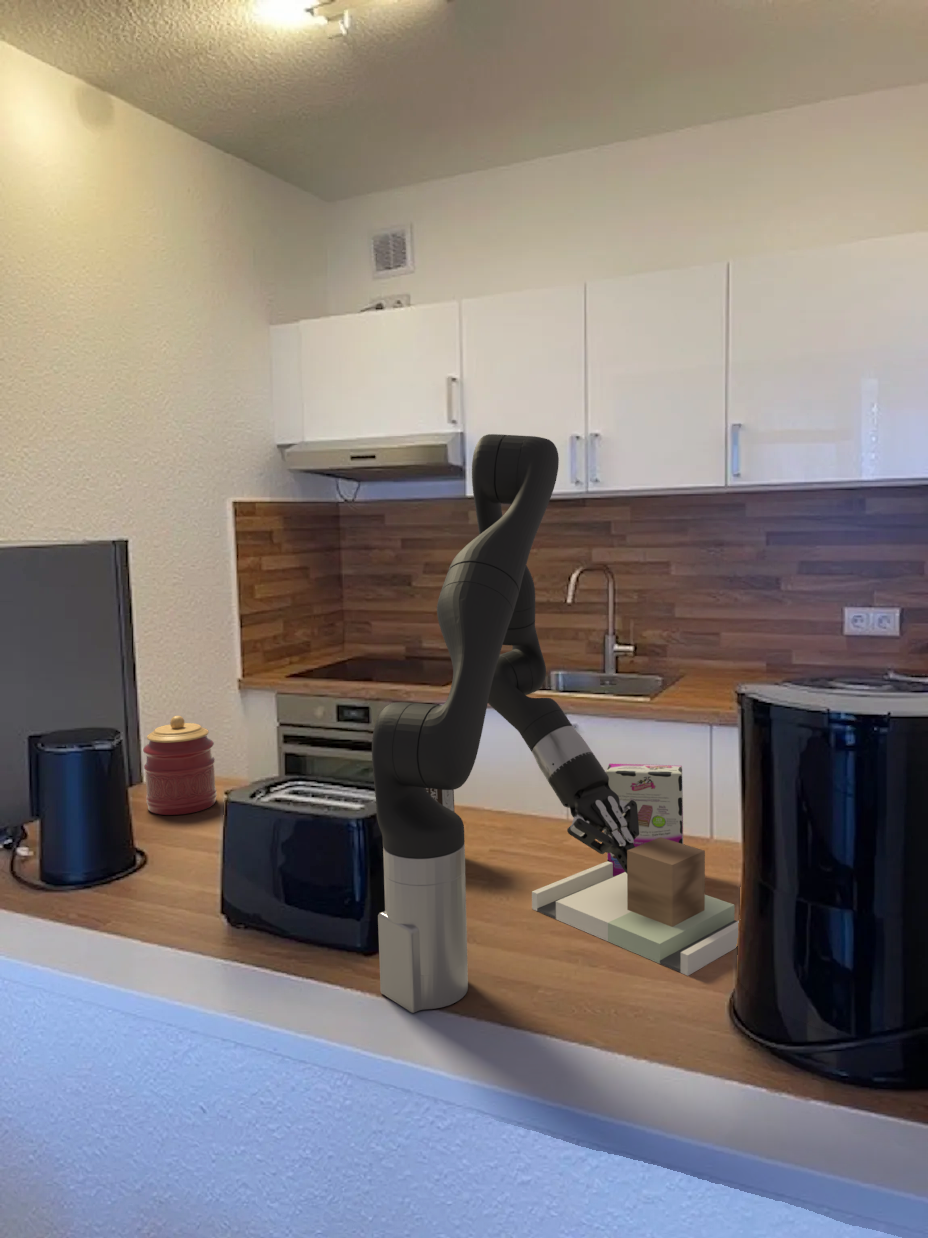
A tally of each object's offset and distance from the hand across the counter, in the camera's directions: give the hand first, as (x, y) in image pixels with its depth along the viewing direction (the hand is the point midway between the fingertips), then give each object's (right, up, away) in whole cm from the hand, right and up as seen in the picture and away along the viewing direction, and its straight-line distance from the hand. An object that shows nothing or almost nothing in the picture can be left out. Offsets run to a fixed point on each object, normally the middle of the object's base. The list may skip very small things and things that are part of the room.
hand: (639, 873), depth 121 cm
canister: (-78, -3, +55) cm, 95 cm away
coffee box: (-30, -5, +24) cm, 38 cm away
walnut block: (+3, -4, -3) cm, 6 cm away
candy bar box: (+4, -5, +16) cm, 17 cm away
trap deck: (+1, -6, 0) cm, 6 cm away
